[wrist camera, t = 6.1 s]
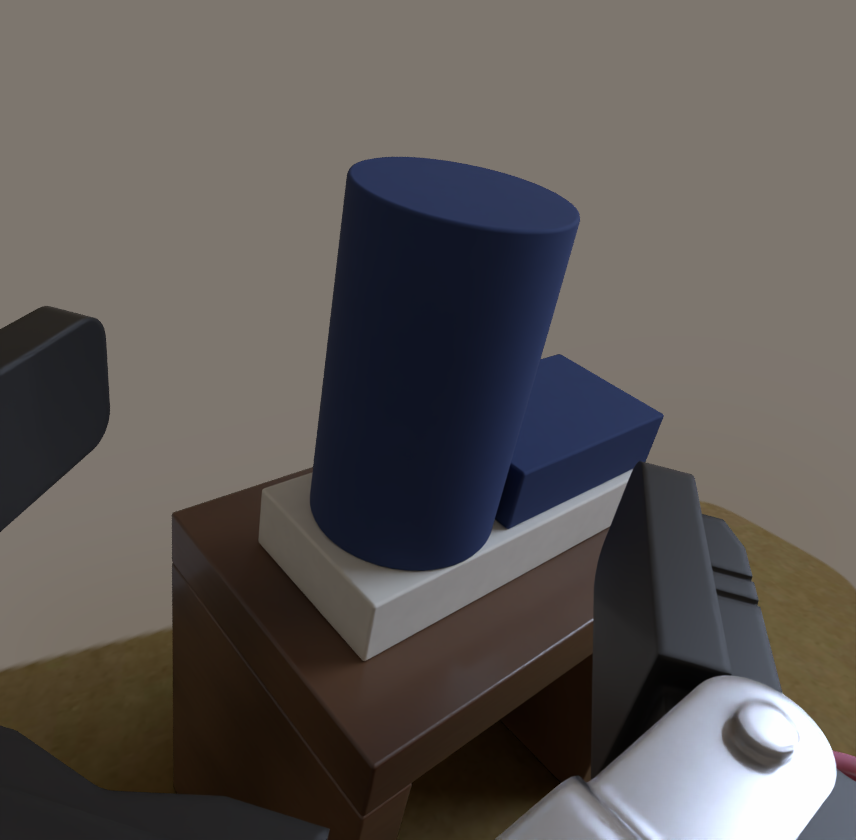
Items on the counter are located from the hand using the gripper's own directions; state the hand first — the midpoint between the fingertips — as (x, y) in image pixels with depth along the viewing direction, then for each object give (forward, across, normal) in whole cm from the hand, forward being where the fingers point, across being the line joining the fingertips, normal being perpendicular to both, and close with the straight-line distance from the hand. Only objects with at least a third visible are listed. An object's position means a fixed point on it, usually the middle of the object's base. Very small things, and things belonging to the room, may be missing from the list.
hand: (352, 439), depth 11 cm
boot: (+10, -2, +9) cm, 14 cm away
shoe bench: (+10, -2, +23) cm, 25 cm away
